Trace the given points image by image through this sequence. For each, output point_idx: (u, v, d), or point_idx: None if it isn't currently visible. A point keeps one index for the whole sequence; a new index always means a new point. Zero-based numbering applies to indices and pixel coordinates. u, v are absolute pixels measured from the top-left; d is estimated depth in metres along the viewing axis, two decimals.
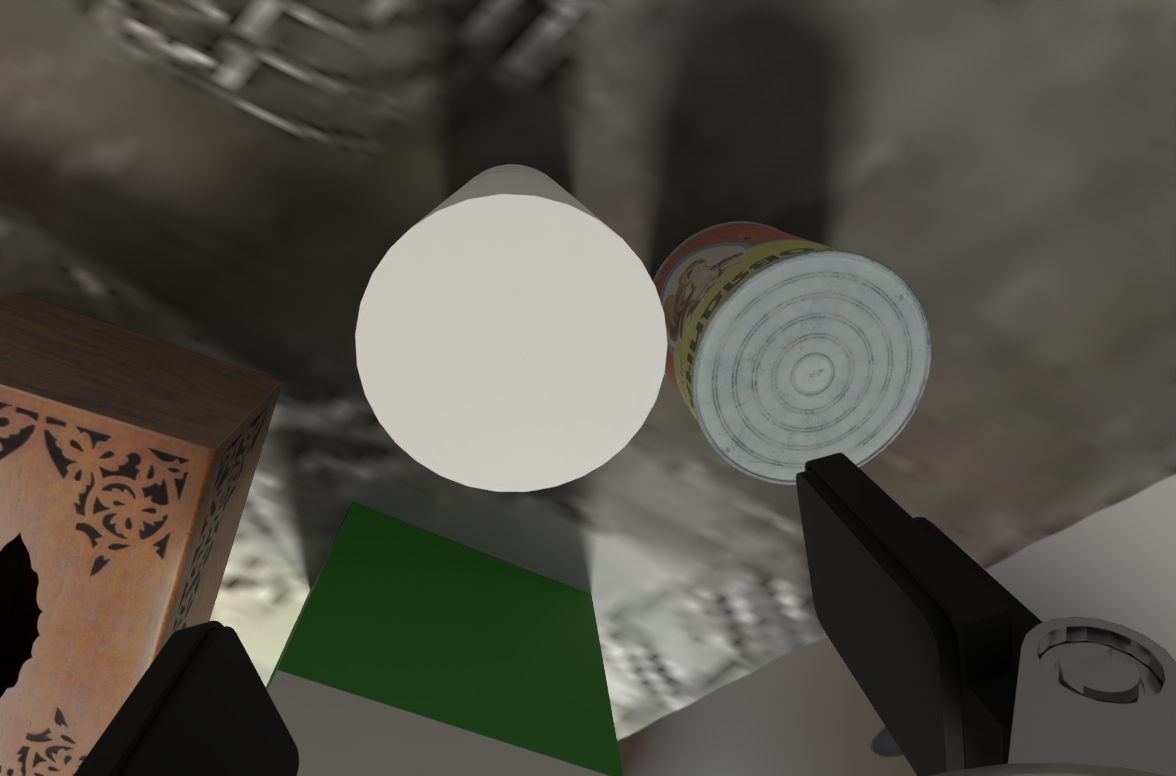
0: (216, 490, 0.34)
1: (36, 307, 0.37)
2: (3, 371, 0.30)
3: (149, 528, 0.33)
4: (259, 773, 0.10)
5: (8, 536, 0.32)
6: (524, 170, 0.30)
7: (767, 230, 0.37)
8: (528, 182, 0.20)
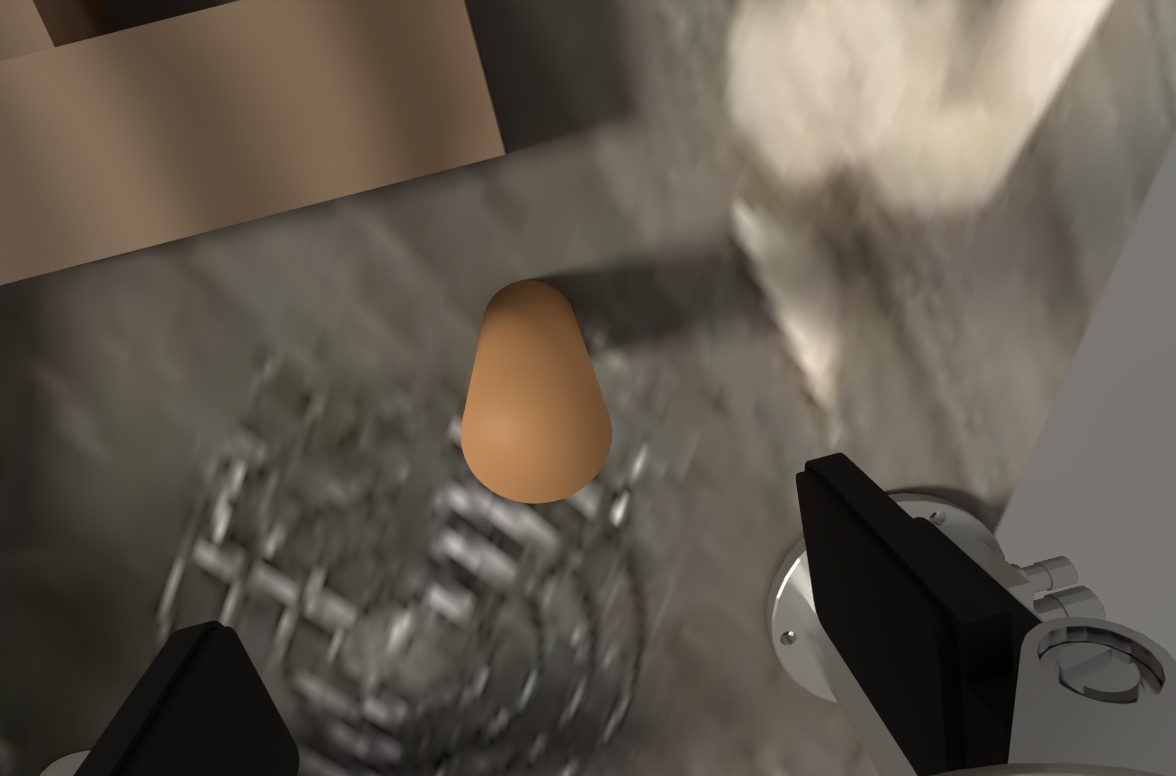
0: None
1: None
2: None
3: None
4: (259, 773, 0.10)
5: None
6: None
7: None
8: None
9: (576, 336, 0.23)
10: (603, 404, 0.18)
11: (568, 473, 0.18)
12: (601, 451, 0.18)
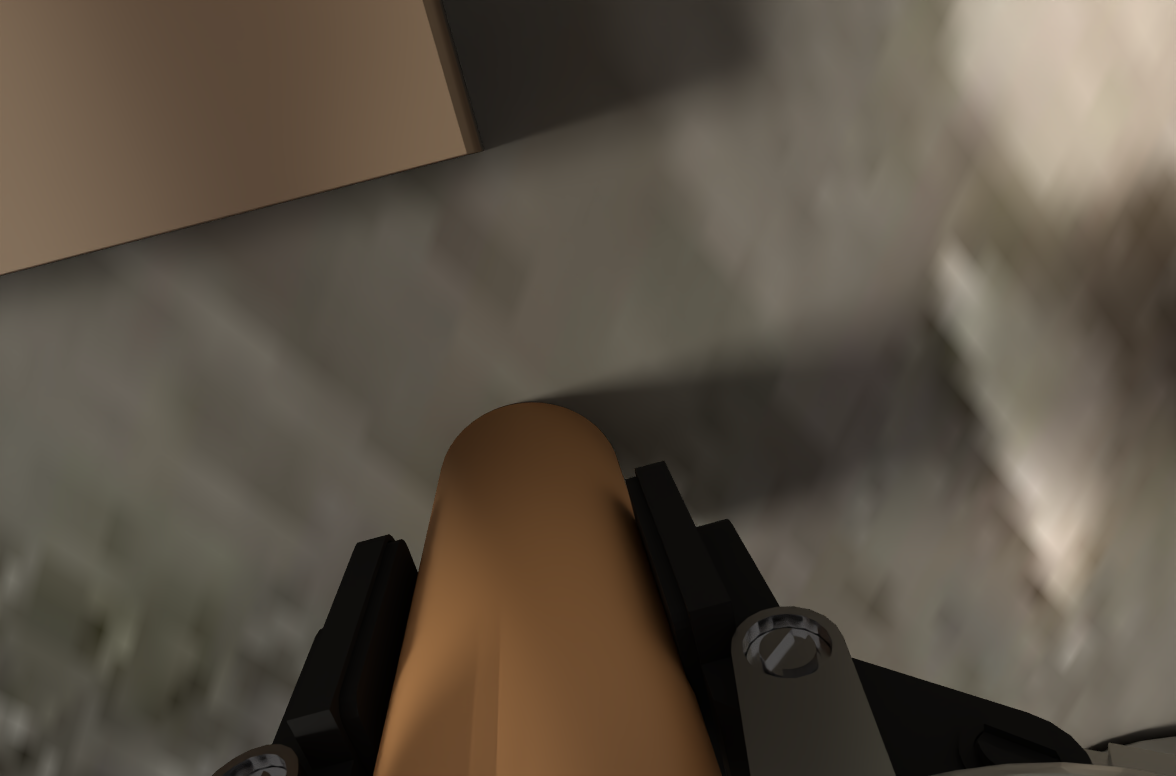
0: None
1: None
2: None
3: None
4: None
5: None
6: None
7: None
8: None
9: (663, 649, 0.08)
10: None
11: None
12: None
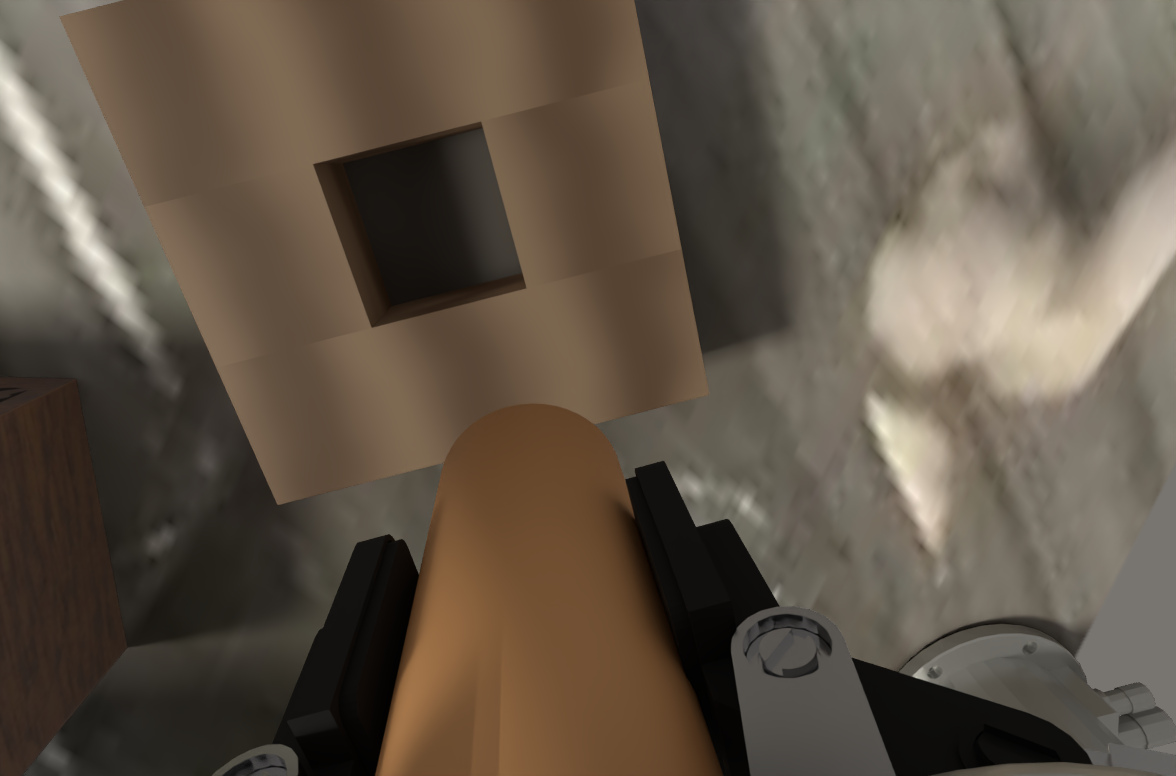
0: None
1: (67, 420, 0.30)
2: None
3: None
4: None
5: None
6: None
7: None
8: None
9: (665, 651, 0.08)
10: None
11: None
12: None
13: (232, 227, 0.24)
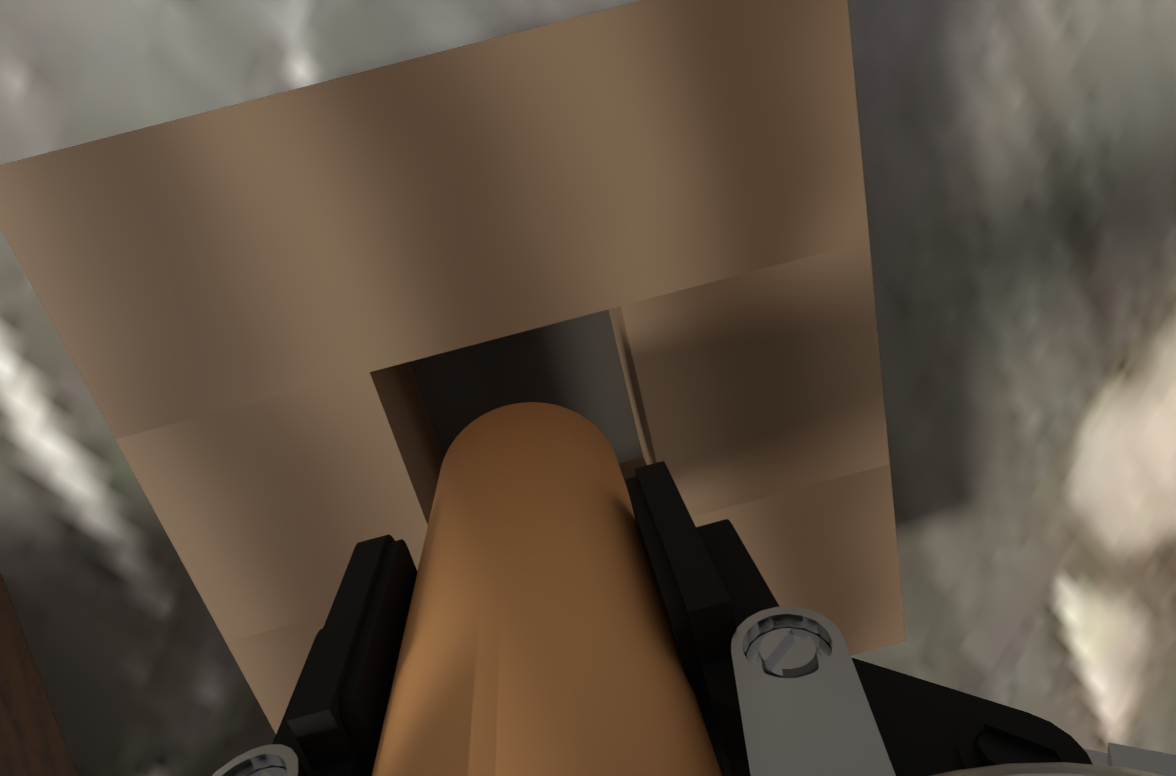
0: None
1: None
2: None
3: None
4: None
5: None
6: None
7: None
8: None
9: (664, 650, 0.08)
10: None
11: None
12: None
13: (248, 461, 0.16)
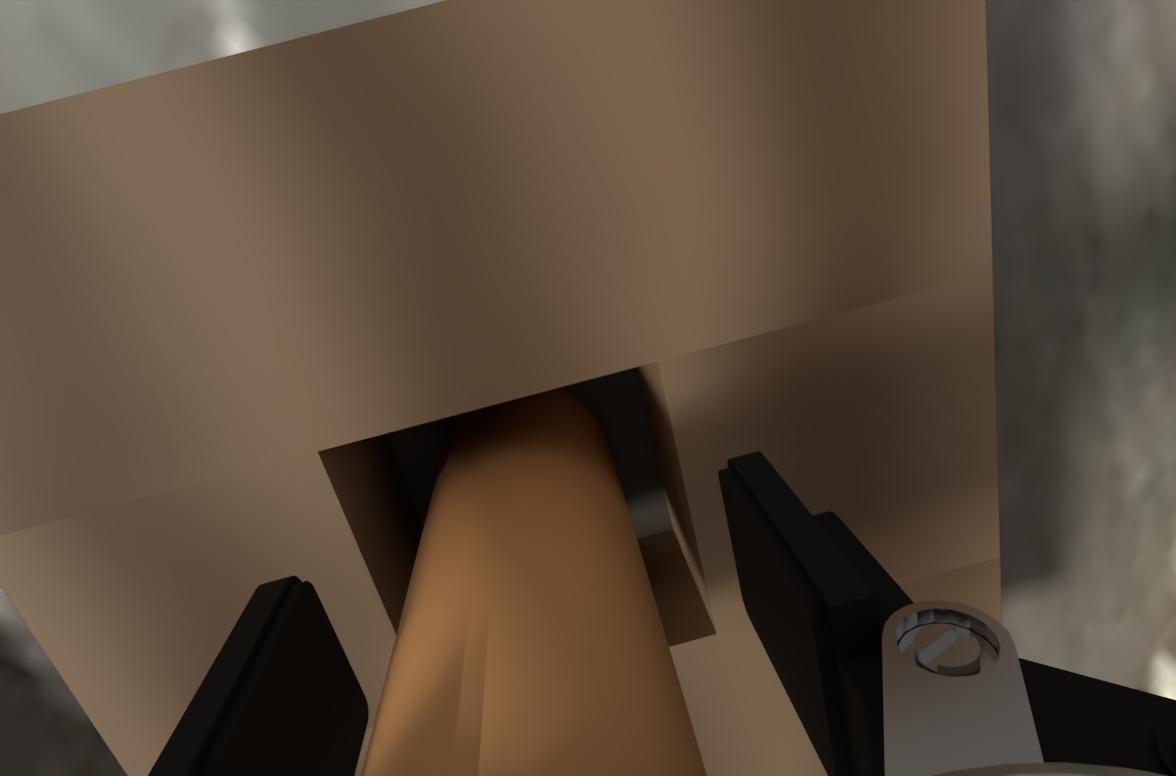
0: None
1: None
2: None
3: None
4: (338, 717, 0.11)
5: None
6: None
7: None
8: None
9: (633, 582, 0.10)
10: None
11: None
12: None
13: (156, 568, 0.12)
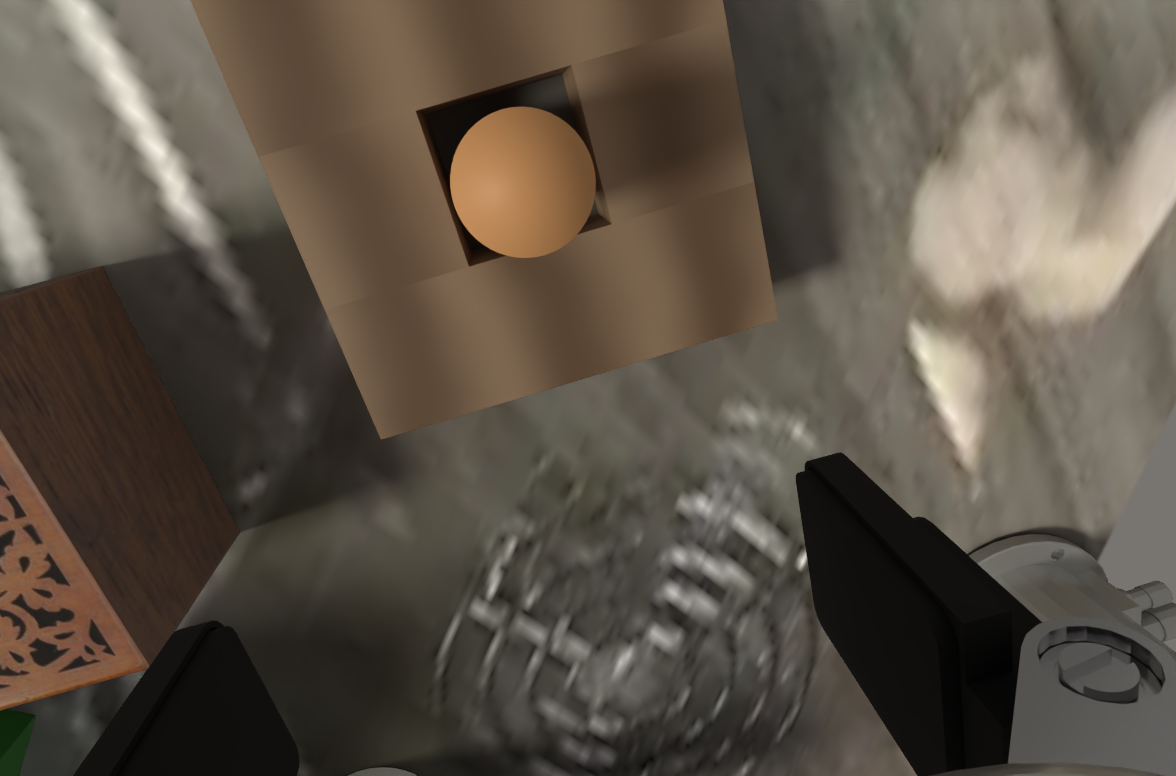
0: None
1: (107, 305, 0.30)
2: (36, 440, 0.24)
3: None
4: (259, 773, 0.10)
5: None
6: None
7: None
8: None
9: None
10: (586, 150, 0.19)
11: (555, 225, 0.19)
12: (586, 201, 0.19)
13: (340, 174, 0.25)
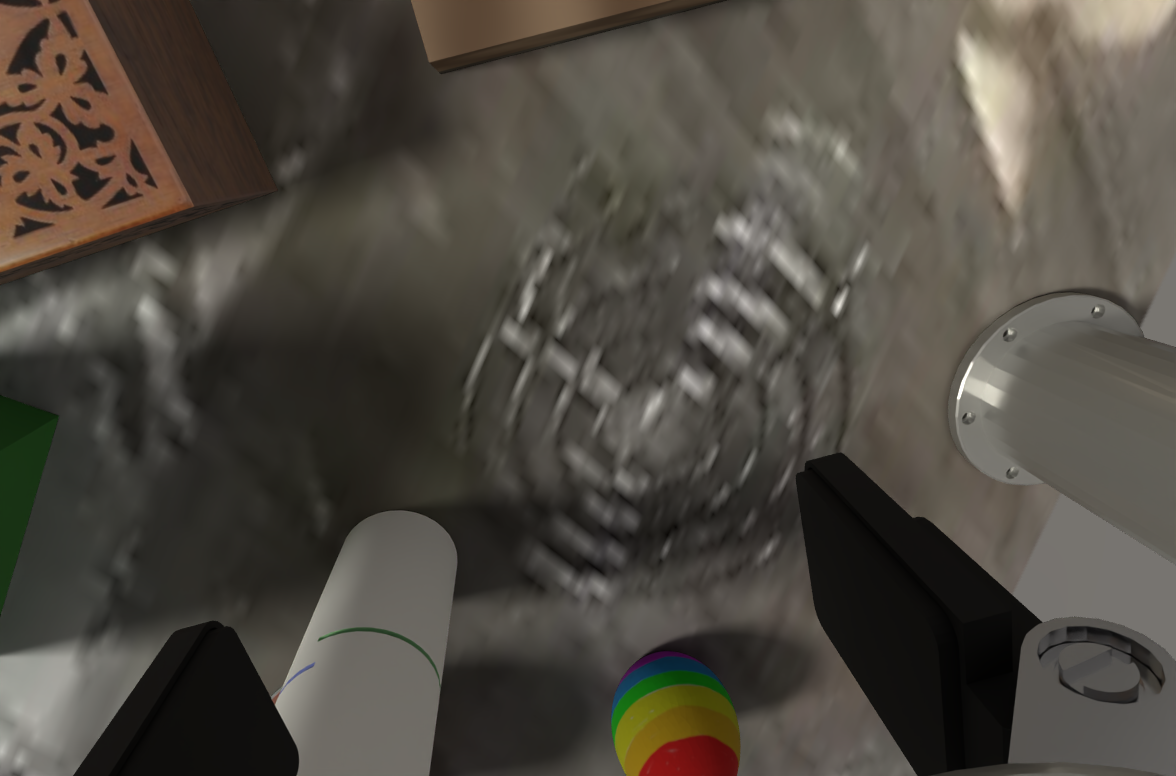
0: (136, 229, 0.28)
1: None
2: None
3: (36, 200, 0.25)
4: (259, 773, 0.10)
5: None
6: None
7: None
8: None
9: None
10: None
11: None
12: None
13: None
